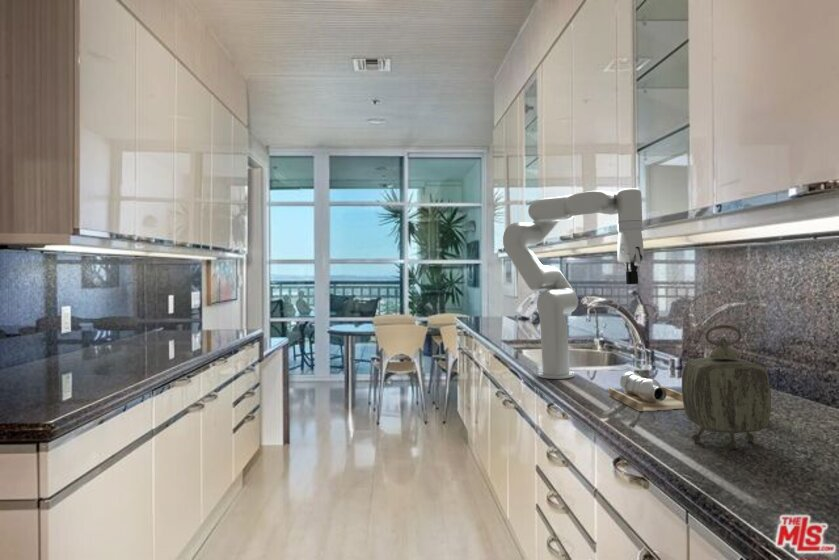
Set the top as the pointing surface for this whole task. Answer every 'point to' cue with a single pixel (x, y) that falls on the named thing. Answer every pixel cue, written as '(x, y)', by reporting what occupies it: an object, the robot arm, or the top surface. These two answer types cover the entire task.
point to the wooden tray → (669, 403)
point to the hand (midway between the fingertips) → (632, 283)
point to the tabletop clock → (726, 392)
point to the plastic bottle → (642, 387)
